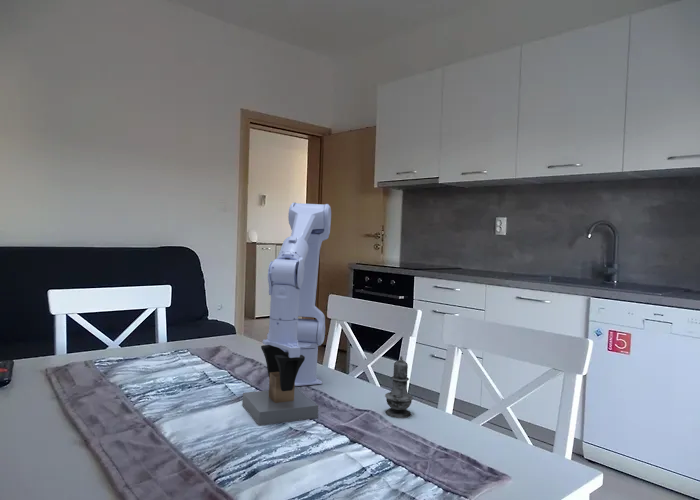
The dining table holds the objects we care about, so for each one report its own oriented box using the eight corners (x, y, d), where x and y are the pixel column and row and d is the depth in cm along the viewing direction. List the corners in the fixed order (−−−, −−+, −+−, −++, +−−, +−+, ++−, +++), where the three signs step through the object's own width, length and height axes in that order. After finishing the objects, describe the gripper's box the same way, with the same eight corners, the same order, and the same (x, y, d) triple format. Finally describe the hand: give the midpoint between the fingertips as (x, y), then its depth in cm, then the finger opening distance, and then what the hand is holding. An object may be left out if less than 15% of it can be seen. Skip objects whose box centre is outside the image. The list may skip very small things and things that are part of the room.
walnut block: (268, 396, 100) (269, 372, 100) (286, 394, 102) (288, 371, 101) (275, 402, 96) (276, 377, 96) (293, 400, 98) (295, 376, 98)
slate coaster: (242, 404, 101) (242, 392, 101) (296, 398, 107) (296, 387, 107) (258, 425, 91) (259, 412, 91) (317, 417, 96) (318, 405, 96)
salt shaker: (411, 420, 98) (414, 360, 98) (382, 416, 99) (385, 358, 99) (413, 410, 104) (416, 354, 103) (385, 407, 105) (389, 351, 105)
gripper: (254, 313, 103) (251, 376, 103) (276, 325, 90) (272, 397, 90) (285, 312, 106) (282, 373, 107) (311, 324, 93) (307, 394, 94)
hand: (280, 384), depth 99 cm, fingers open, 7 cm apart
